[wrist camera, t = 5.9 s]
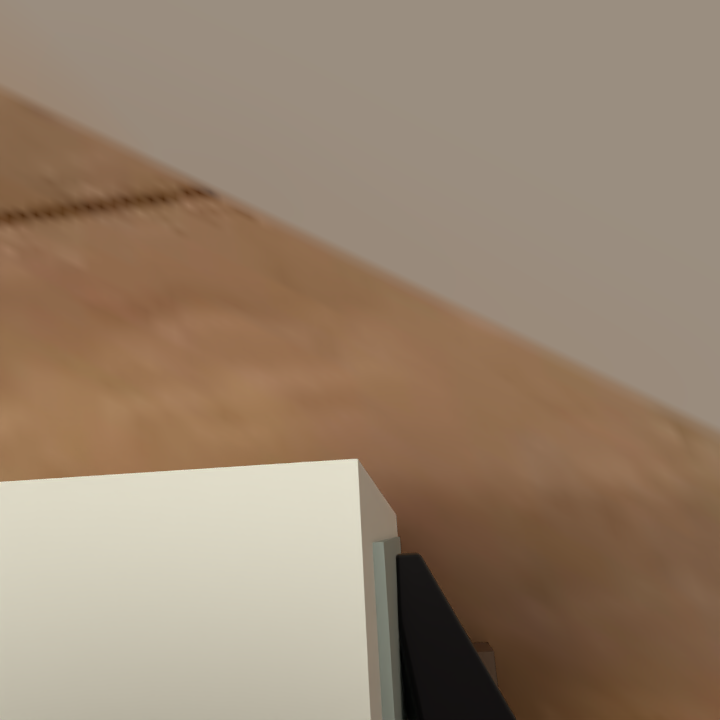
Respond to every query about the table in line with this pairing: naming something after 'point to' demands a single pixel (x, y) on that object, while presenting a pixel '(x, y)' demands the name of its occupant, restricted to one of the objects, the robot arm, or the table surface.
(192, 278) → the table surface
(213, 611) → the cream slab
